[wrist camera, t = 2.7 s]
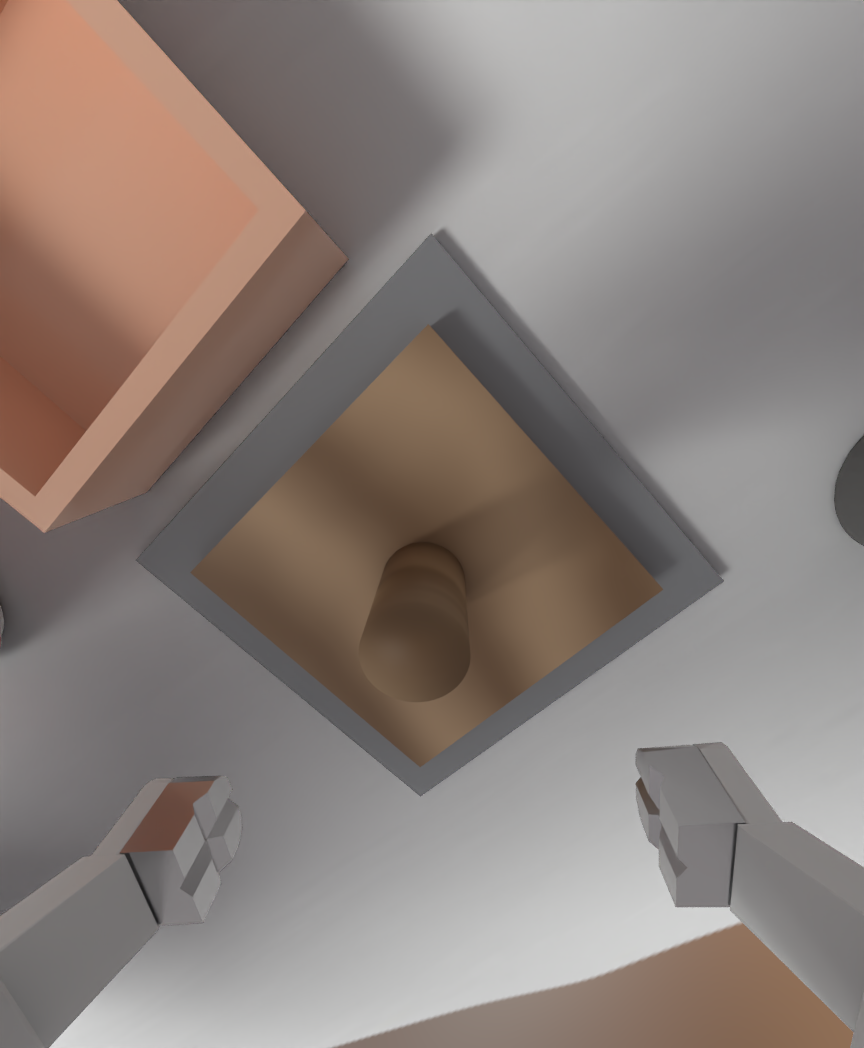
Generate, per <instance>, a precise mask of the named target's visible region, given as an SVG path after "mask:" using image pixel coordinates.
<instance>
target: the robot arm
mask: <svg viewBox="0 0 864 1048" xmlns="http://www.w3.org/2000/svg"><path fill="white" fill-rule="evenodd" d="M636 767H637V769H638V771H639V774H640V776H641V778H640V779H639V780H638V781H637V782H636V800H637V805H638V811H639V815H640V819H641V822H642V825H643V828H644V831H645V833H646V836H647V838H648V841H649V842H650V843H652V844H653V845H654V846H655V847H656V848H657V849H659V868H660V870H661V873H662V875H663V878H664V880H665V882H666V885H667V887H668V890H669V892H670V895H671V897H672V899H673V902H674V904H675V907H730V911H731V912H732V913H733V914H734V915H735V916H736V917H737V918H738V919H740V920H741V921H742V922H743V923H744V924H745V925H746V926H747V927H748V928H749V929H750V930H751V931H752V932H753V933H754V934H755V935H756V936H757V937H758V938H759V939H760V940H761V941H762V942H763V943H764V944H765V945H766V946H767V947H768V948H769V949H770V950H771V951H772V952H773V953H774V954H775V955H776V956H777V957H778V958H779V959H780V960H781V961H782V962H783V963H784V964H785V965H786V966H787V967H788V968H789V969H790V970H791V971H792V972H793V973H794V974H795V975H796V976H797V977H798V978H799V979H800V980H801V981H802V982H803V983H804V984H805V985H806V986H807V987H808V988H810V990H811V991H812V992H814V994H815V995H816V996H817V997H819V998H820V1000H822V1001H823V1002H824V1003H825V1004H826V1005H827V1006H828V1007H829V1008H830V1009H831V1010H832V1011H833V1012H834V1013H835V1014H836V1015H837V1016H838V1017H839V1018H840V1019H841V1020H842V1021H843V1022H844V1023H845V1024H846V1025H847V1026H848V1027H849V1028H850V1029H851V1030H852V1031H853V1032H854V1034H853V1039H852V1043H851V1047H850V1048H864V867H862V866H861V865H859V864H858V863H856V862H854V861H853V860H851V859H850V858H848V857H847V856H845V855H843V854H842V853H840V852H839V851H837V850H836V849H834V848H832V847H831V846H829V845H828V844H826V843H825V842H823V841H821V840H820V839H818V838H817V837H815V836H814V835H812V834H810V833H809V832H807V831H806V830H804V829H802V828H801V827H799V826H798V825H796V824H795V823H793V822H782V821H781V819H780V818H779V817H778V815H777V814H776V812H775V811H774V810H773V808H772V807H771V806H770V804H769V803H768V801H767V800H766V799H765V797H764V796H763V795H762V793H761V792H760V790H759V789H758V788H757V786H756V785H755V784H754V782H753V781H752V779H751V778H750V777H749V775H748V774H747V773H746V771H745V770H744V768H743V767H742V766H741V764H740V763H739V762H738V760H737V759H736V757H735V756H734V755H733V753H732V752H731V751H730V749H729V748H728V747H727V746H726V745H725V744H723V743H722V742H719V743H705V744H693V745H679V746H666V747H652V748H639V749H637V752H636ZM232 790H233V789H232V787H231V784H230V782H229V779H228V777H225V776H201V777H177V778H158V779H153V780H151V781H150V782H148V783H147V784H145V786H144V787H143V788H142V790H141V791H140V792H139V793H138V795H137V796H136V797H135V799H134V800H133V801H132V803H131V804H130V805H129V807H128V808H127V809H126V811H125V812H124V813H123V814H122V816H121V817H120V818H119V820H118V821H117V822H116V824H115V825H114V826H113V828H112V829H111V830H110V831H109V833H108V834H107V835H106V837H105V838H104V839H103V841H102V842H101V843H100V845H99V846H98V847H97V849H96V850H95V851H94V852H93V854H92V855H91V856H83V857H82V858H80V859H79V860H78V861H76V862H75V863H73V864H72V865H71V866H69V867H68V868H66V869H65V870H64V871H62V872H61V873H59V874H58V875H57V876H55V877H54V878H52V879H51V880H50V881H48V882H47V883H46V884H44V885H43V886H41V887H40V888H39V889H37V890H36V891H34V892H33V893H32V894H30V895H29V896H27V897H26V898H25V899H23V900H22V901H20V902H19V903H18V904H16V905H15V906H13V907H12V908H11V909H9V910H8V911H7V912H5V913H4V914H2V915H1V916H0V1048H49V1047H50V1046H51V1045H52V1044H53V1043H54V1041H55V1040H56V1039H57V1038H58V1037H59V1036H60V1035H61V1034H62V1033H63V1032H64V1031H65V1030H66V1029H67V1027H68V1026H69V1025H70V1024H71V1023H72V1022H73V1021H74V1020H75V1019H76V1018H77V1017H78V1016H79V1015H80V1013H81V1012H82V1011H83V1010H84V1009H85V1008H86V1007H87V1006H88V1005H89V1004H90V1003H91V1002H92V1001H93V999H94V998H95V997H96V996H97V995H98V994H99V993H100V992H101V991H102V990H103V989H104V988H105V987H106V986H107V984H108V983H109V982H110V981H111V980H112V979H113V978H114V977H115V976H116V975H117V974H118V973H119V972H120V970H121V969H122V968H123V967H124V966H125V965H126V964H127V963H128V962H129V961H130V960H131V959H132V958H133V956H134V955H135V954H136V953H137V952H138V951H139V950H140V949H141V948H142V947H143V946H144V945H145V944H146V942H147V941H148V940H149V939H150V938H151V937H152V936H153V935H154V934H155V933H156V932H157V931H158V930H159V927H158V926H165V925H180V924H194V923H203V922H204V920H205V918H206V916H207V914H208V912H209V909H210V907H211V905H212V903H213V901H214V899H215V897H216V894H217V892H218V890H219V888H220V886H221V880H220V874H219V872H220V871H221V870H222V869H223V868H225V867H226V866H227V865H228V864H229V863H230V862H231V861H232V860H233V858H234V855H235V853H236V851H237V848H238V846H239V842H240V837H241V832H242V816H241V813H240V810H239V806H237V805H236V804H235V803H234V802H232V801H231V800H230V799H229V796H230V794H231V792H232Z"/></svg>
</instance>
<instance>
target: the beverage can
mask: <svg viewBox="0 0 864 1048" xmlns="http://www.w3.org/2000/svg"><path fill="white" fill-rule="evenodd" d="M3 629H4V616H3V611H2V608H1V605H0V648H1V636H2V633H3Z"/></svg>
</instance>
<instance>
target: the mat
mask: <svg viewBox="0 0 864 1048" xmlns="http://www.w3.org/2000/svg"><path fill="white" fill-rule="evenodd" d="M428 324H429V325H430V326H431V328H432V329H433V330H434V331H435V332H436V333H437V334H438V335H439V337H440V338H441V339H442V340H443V341H444V342H445V343H446V344H447V346H448V347H449V348H450V349H451V350H452V351H453V352H454V353H455V355H456V356H457V357H458V358H459V359H460V360H461V361H462V363H463V364H464V365H465V366H466V367H467V368H468V369H469V370H470V372H471V373H472V374H473V375H474V376H475V377H476V378H477V379H478V381H479V382H480V383H481V384H482V385H483V386H484V387H485V388H486V390H487V391H488V392H489V393H490V394H491V395H492V396H493V398H494V399H495V400H496V401H497V402H498V403H499V404H500V405H501V407H502V408H503V409H504V410H505V411H506V412H507V413H508V414H509V416H510V417H511V418H512V419H513V420H514V421H515V422H516V423H517V425H518V426H519V427H520V428H521V429H522V430H523V431H524V433H525V434H526V435H527V436H528V437H529V438H530V439H531V440H532V442H533V443H534V444H535V445H536V446H537V447H538V448H539V449H540V451H541V452H542V453H543V454H544V455H545V456H546V457H547V458H548V460H549V461H550V462H551V463H552V464H553V465H554V466H555V468H556V469H557V470H558V471H559V472H560V473H561V474H562V475H563V477H564V478H565V479H566V480H567V481H568V482H569V483H570V484H571V486H572V487H573V488H574V489H575V490H576V491H577V492H578V494H579V495H580V496H581V497H582V498H583V499H584V500H585V501H586V503H587V504H588V505H589V506H590V507H591V508H592V509H593V510H594V512H595V513H596V514H597V515H598V516H599V517H600V518H601V519H602V521H603V522H604V523H605V524H606V525H607V526H608V527H609V529H610V530H611V531H612V532H613V533H614V534H615V535H616V536H617V538H618V539H619V540H620V541H621V542H622V543H623V544H624V545H625V547H626V548H627V549H628V550H629V551H630V552H631V553H632V554H633V556H634V557H635V558H636V559H637V560H638V561H639V562H640V564H641V565H642V566H643V567H644V568H645V569H646V570H647V571H648V573H649V574H650V575H651V576H652V577H653V578H654V579H655V580H656V582H657V583H658V584H659V585H660V586H661V587H662V588H663V589H664V590H662V591H661V592H659V593H658V594H657V595H655V596H654V597H653V598H651V599H650V600H649V601H647V602H646V603H644V604H643V605H642V606H640V607H639V608H638V609H636V610H635V611H633V612H632V613H631V614H629V615H628V616H627V617H625V618H624V619H623V620H621V621H620V622H618V623H617V624H616V625H614V626H613V627H612V628H610V629H609V630H607V631H606V632H605V633H603V634H602V635H601V636H599V637H598V638H597V639H595V640H594V641H592V642H591V643H590V644H588V645H587V646H586V647H584V648H583V649H581V650H580V651H579V652H577V653H576V654H575V655H573V656H572V657H571V658H569V659H568V660H566V661H565V662H564V663H562V664H561V665H560V666H558V667H557V668H555V669H554V670H553V671H551V672H550V673H549V674H547V675H546V676H545V677H543V678H542V679H540V680H539V681H538V682H536V683H535V684H534V685H532V686H531V687H529V688H528V689H527V690H525V691H524V692H523V693H521V694H520V695H519V696H517V697H516V698H514V699H513V700H512V701H510V702H509V703H508V704H506V705H505V706H503V707H502V708H501V709H499V710H498V711H497V712H495V713H494V714H493V715H491V716H490V717H488V718H487V719H486V720H484V721H483V722H482V723H480V724H479V725H477V726H476V727H475V728H473V729H472V730H471V731H469V732H468V733H467V734H465V735H464V736H462V737H461V738H460V739H458V740H457V741H456V742H454V743H453V744H451V745H450V746H449V747H447V748H446V749H445V750H443V751H442V752H441V753H439V754H438V755H436V756H435V757H434V758H432V759H431V760H430V761H428V762H427V763H425V764H424V765H423V766H421V767H419V766H418V765H417V764H415V763H414V762H413V761H412V760H411V759H410V758H408V757H407V756H406V755H405V754H404V753H403V752H401V751H400V750H399V749H398V748H397V747H395V746H394V745H393V744H392V743H391V742H390V741H388V740H387V739H386V738H385V737H384V736H382V735H381V734H380V733H379V732H378V731H377V730H375V729H374V728H373V727H372V726H371V725H369V724H368V723H367V722H366V721H365V720H364V719H362V718H361V717H360V716H359V715H358V714H356V713H355V712H354V711H353V710H352V709H351V708H349V707H348V706H347V705H346V704H345V703H343V702H342V701H341V700H340V699H339V698H338V697H336V696H335V695H334V694H333V693H332V692H330V691H329V690H328V689H327V688H326V687H325V686H323V685H322V684H321V683H320V682H319V681H317V680H316V679H315V678H314V677H313V676H312V675H310V674H309V673H308V672H307V671H306V670H305V669H303V668H302V667H301V666H300V665H299V664H297V663H296V662H295V661H294V660H293V659H292V658H290V657H289V656H288V655H287V654H286V653H284V652H283V651H282V650H281V649H280V648H279V647H277V646H276V645H275V644H274V643H273V642H271V641H270V640H269V639H268V638H267V637H266V636H264V635H263V634H262V633H261V632H260V631H258V630H257V629H256V628H255V627H254V626H253V625H251V624H250V623H249V622H248V621H247V620H245V619H244V618H243V617H242V616H241V615H240V614H238V613H237V612H236V611H235V610H234V609H232V608H231V607H230V606H229V605H228V604H227V603H225V602H224V601H223V600H222V599H221V598H220V597H218V596H217V595H216V594H215V593H214V592H212V591H211V590H210V589H209V588H208V587H207V586H205V585H204V584H203V583H202V582H201V581H199V580H198V579H197V578H196V577H195V576H194V575H192V574H191V573H190V572H191V571H192V570H193V569H194V568H195V567H196V566H197V565H198V564H199V563H200V562H201V561H202V560H203V559H204V558H205V556H206V555H207V554H208V553H209V552H210V551H211V550H212V549H213V548H214V547H215V546H216V545H217V544H218V543H219V542H220V541H221V540H222V539H223V538H224V537H225V536H226V535H227V534H228V532H229V531H230V530H231V529H232V528H233V527H234V526H235V525H236V524H237V523H238V522H239V521H240V520H241V519H242V518H243V517H244V516H245V515H246V514H247V513H248V512H249V511H250V510H251V508H252V507H253V506H254V505H255V504H256V503H257V502H258V501H259V500H260V499H261V498H262V497H263V496H264V495H265V494H266V493H267V492H268V491H269V490H270V489H271V488H272V487H273V486H274V484H275V483H276V482H277V481H278V480H279V479H280V478H281V477H282V476H283V475H284V474H285V473H286V472H287V471H288V470H289V469H290V468H291V467H292V466H293V465H294V464H295V463H296V462H297V460H298V459H299V458H300V457H301V456H302V455H303V454H304V453H305V452H306V451H307V450H308V449H309V448H310V447H311V446H312V445H313V444H314V443H315V442H316V441H317V440H318V439H319V438H320V436H321V435H322V434H323V433H324V432H325V431H326V430H327V429H328V428H329V427H330V426H331V425H332V424H333V423H334V422H335V421H336V420H337V419H338V418H339V417H340V416H341V415H342V414H343V412H344V411H345V410H346V409H347V408H348V407H349V406H350V405H351V404H352V403H353V402H354V401H355V400H356V399H357V398H358V397H359V396H360V395H361V394H362V393H363V392H364V391H365V390H366V388H367V387H368V386H369V385H370V384H371V383H372V382H373V381H374V380H375V379H376V378H377V377H378V376H379V375H380V374H381V373H382V372H383V371H384V370H385V369H386V368H387V367H388V366H389V364H390V363H391V362H392V361H393V360H394V359H395V358H396V357H397V356H398V355H399V354H400V353H401V352H402V351H403V350H404V349H405V348H406V347H407V346H408V345H409V344H410V343H411V342H412V340H413V339H414V338H415V337H416V336H417V335H418V334H419V333H420V332H421V331H422V330H423V329H424V328H425V327H426V326H427V325H428ZM136 561H137V562H138V563H140V564H141V565H142V566H143V567H144V568H146V569H147V570H148V571H149V572H150V573H152V574H153V575H154V576H155V577H156V578H158V579H159V580H160V581H161V582H163V583H164V584H165V585H166V586H167V587H169V588H170V589H171V590H172V591H173V592H175V593H176V594H177V595H178V596H179V597H181V598H182V599H183V600H184V601H185V602H187V603H188V604H189V605H190V606H191V607H193V608H194V609H195V610H196V611H198V612H199V613H200V614H201V615H202V616H204V617H205V618H206V619H207V620H208V621H210V622H211V623H212V624H213V625H214V626H216V627H217V628H218V629H219V630H220V631H222V632H223V633H224V634H225V635H226V636H228V637H229V638H230V639H231V640H232V641H234V642H235V643H236V644H237V645H239V646H240V647H241V648H242V649H243V650H245V651H246V652H247V653H248V654H249V655H251V656H252V657H253V658H254V659H255V660H257V661H258V662H259V663H260V664H261V665H263V666H264V667H265V668H266V669H267V670H269V671H270V672H271V673H272V674H273V675H275V676H276V677H277V678H278V679H280V680H281V681H282V682H283V683H284V684H286V685H287V686H288V687H289V688H290V689H292V690H293V691H294V692H295V693H296V694H298V695H299V696H300V697H301V698H302V699H304V700H305V701H306V702H307V703H308V704H310V705H311V706H312V707H313V708H314V709H316V710H317V711H318V712H319V713H321V714H322V715H323V716H324V717H325V718H327V719H328V720H329V721H330V722H331V723H333V724H334V725H335V726H336V727H337V728H339V729H340V730H341V731H342V732H343V733H345V734H346V735H347V736H348V737H349V738H351V739H352V740H353V741H354V742H356V743H357V744H358V745H359V746H360V747H362V748H363V749H364V750H365V751H366V752H368V753H369V754H370V755H371V756H372V757H374V758H375V759H376V760H377V761H378V762H380V763H381V764H382V765H383V766H384V767H386V768H387V769H388V770H389V771H390V772H392V773H393V774H394V775H395V776H397V777H398V778H399V779H400V780H401V781H403V782H404V783H405V784H406V785H407V786H409V787H410V788H411V789H412V790H413V791H415V792H416V793H417V794H418V795H419V796H422V795H423V794H425V793H426V792H427V791H429V790H430V789H432V788H433V787H434V786H436V785H437V784H439V783H440V782H441V781H443V780H444V779H446V778H447V777H449V776H450V775H451V774H453V773H454V772H456V771H457V770H458V769H460V768H461V767H463V766H464V765H465V764H467V763H468V762H470V761H471V760H472V759H474V758H475V757H477V756H478V755H480V754H481V753H482V752H484V751H485V750H487V749H488V748H489V747H491V746H492V745H494V744H495V743H496V742H498V741H499V740H501V739H502V738H503V737H505V736H506V735H508V734H509V733H511V732H512V731H513V730H515V729H516V728H518V727H519V726H520V725H522V724H523V723H525V722H526V721H527V720H529V719H530V718H532V717H533V716H534V715H536V714H537V713H539V712H540V711H542V710H543V709H544V708H546V707H547V706H549V705H550V704H551V703H553V702H554V701H556V700H557V699H558V698H560V697H561V696H563V695H564V694H565V693H567V692H568V691H570V690H571V689H573V688H574V687H575V686H577V685H578V684H580V683H581V682H582V681H584V680H585V679H587V678H588V677H589V676H591V675H592V674H594V673H595V672H596V671H598V670H599V669H601V668H602V667H604V666H605V665H606V664H608V663H609V662H611V661H612V660H613V659H615V658H616V657H618V656H619V655H620V654H622V653H623V652H625V651H626V650H627V649H629V648H630V647H632V646H633V645H635V644H636V643H637V642H639V641H640V640H642V639H643V638H644V637H646V636H647V635H649V634H650V633H651V632H653V631H654V630H656V629H657V628H658V627H660V626H661V625H663V624H664V623H666V622H667V621H668V620H670V619H671V618H673V617H674V616H675V615H677V614H678V613H680V612H681V611H682V610H684V609H685V608H687V607H688V606H689V605H691V604H692V603H694V602H695V601H697V600H698V599H699V598H701V597H702V596H704V595H705V594H706V593H708V592H709V591H711V590H712V589H713V588H715V587H716V586H718V585H719V584H720V583H722V582H723V581H724V580H723V579H722V578H721V577H720V576H719V575H718V573H717V572H716V571H715V570H714V569H713V567H712V566H711V565H710V564H709V563H708V561H707V560H706V559H705V558H704V557H703V556H702V554H701V553H700V552H699V551H698V550H697V548H696V547H695V546H694V545H693V544H692V542H691V541H690V540H689V539H688V538H687V537H686V535H685V534H684V533H683V532H682V531H681V529H680V528H679V527H678V526H677V525H676V523H675V522H674V521H673V520H672V519H671V518H670V516H669V515H668V514H667V513H666V512H665V510H664V509H663V508H662V507H661V506H660V504H659V503H658V502H657V501H656V500H655V498H654V497H653V496H652V495H651V494H650V493H649V491H648V490H647V489H646V488H645V487H644V485H643V484H642V483H641V482H640V481H639V479H638V478H637V477H636V476H635V475H634V474H633V472H632V471H631V470H630V469H629V468H628V466H627V465H626V464H625V463H624V462H623V460H622V459H621V458H620V457H619V456H618V455H617V453H616V452H615V451H614V450H613V449H612V447H611V446H610V445H609V444H608V443H607V441H606V440H605V439H604V438H603V437H602V436H601V434H600V433H599V432H598V431H597V430H596V428H595V427H594V426H593V425H592V424H591V422H590V421H589V420H588V419H587V418H586V416H585V415H584V414H583V413H582V412H581V411H580V409H579V408H578V407H577V406H576V405H575V403H574V402H573V401H572V400H571V399H570V397H569V396H568V395H567V394H566V393H565V392H564V390H563V389H562V388H561V387H560V386H559V384H558V383H557V382H556V381H555V380H554V378H553V377H552V376H551V375H550V374H549V373H548V371H547V370H546V369H545V368H544V367H543V365H542V364H541V363H540V362H539V361H538V359H537V358H536V357H535V356H534V355H533V354H532V352H531V351H530V350H529V349H528V348H527V346H526V345H525V344H524V343H523V342H522V340H521V339H520V338H519V337H518V336H517V335H516V333H515V332H514V331H513V330H512V329H511V327H510V326H509V325H508V324H507V323H506V321H505V320H504V319H503V318H502V317H501V315H500V314H499V313H498V312H497V311H496V310H495V308H494V307H493V306H492V305H491V304H490V302H489V301H488V300H487V299H486V298H485V296H484V295H483V294H482V293H481V292H480V291H479V289H478V288H477V287H476V286H475V285H474V283H473V282H472V281H471V280H470V279H469V277H468V276H467V275H466V274H465V273H464V272H463V270H462V269H461V268H460V267H459V266H458V264H457V263H456V262H455V261H454V260H453V258H452V257H451V256H450V255H449V254H448V253H447V251H446V250H445V249H444V248H443V247H442V245H441V244H440V243H439V242H438V241H437V239H436V238H435V237H434V236H433V235H432V234H430V235H429V237H428V238H427V239H426V240H425V241H424V242H423V243H422V244H421V245H420V247H419V248H418V249H417V250H416V251H415V252H414V253H413V254H412V255H411V256H410V258H409V259H408V260H407V261H406V262H405V263H404V264H403V265H402V266H401V268H400V269H399V270H398V271H397V272H396V273H395V274H394V275H393V276H392V277H391V279H390V280H389V281H388V282H387V283H386V284H385V285H384V286H383V287H382V289H381V290H380V291H379V292H378V293H377V294H376V295H375V296H374V297H373V298H372V300H371V301H370V302H369V303H368V304H367V305H366V306H365V307H364V308H363V310H362V311H361V312H360V313H359V314H358V315H357V316H356V317H355V318H354V320H353V321H352V322H351V323H350V324H349V325H348V326H347V327H346V328H345V329H344V331H343V332H342V333H341V334H340V335H339V336H338V337H337V338H336V339H335V341H334V342H333V343H332V344H331V345H330V346H329V347H328V348H327V349H326V350H325V352H324V353H323V354H322V355H321V356H320V357H319V358H318V359H317V360H316V362H315V363H314V364H313V365H312V366H311V367H310V368H309V369H308V370H307V371H306V373H305V374H304V375H303V376H302V377H301V378H300V379H299V380H298V381H297V383H296V384H295V385H294V386H293V387H292V388H291V389H290V390H289V391H288V392H287V394H286V395H285V396H284V397H283V398H282V399H281V400H280V401H279V402H278V404H277V405H276V406H275V407H274V408H273V409H272V410H271V411H270V412H269V414H268V415H267V416H266V417H265V418H264V419H263V420H262V421H261V422H260V423H259V425H258V426H257V427H256V428H255V429H254V430H253V431H252V432H251V433H250V435H249V436H248V437H247V438H246V439H245V440H244V441H243V442H242V443H241V444H240V446H239V447H238V448H237V449H236V450H235V451H234V452H233V453H232V454H231V456H230V457H229V458H228V459H227V460H226V461H225V462H224V463H223V464H222V465H221V467H220V468H219V469H218V470H217V471H216V472H215V473H214V474H213V475H212V477H211V478H210V479H209V480H208V481H207V482H206V483H205V484H204V485H203V486H202V488H201V489H200V490H199V491H198V492H197V493H196V494H195V495H194V496H193V498H192V499H191V500H190V501H189V502H188V503H187V504H186V505H185V506H184V508H183V509H182V510H181V511H180V512H179V513H178V514H177V515H176V516H175V517H174V519H173V520H172V521H171V522H170V523H169V524H168V525H167V526H166V527H165V529H164V530H163V531H162V532H161V533H160V534H159V535H158V536H157V537H156V538H155V540H154V541H153V542H152V543H151V544H150V545H149V546H148V547H147V548H146V550H145V551H144V552H143V553H142V554H141V555H140V556H139V557H138V558H137V559H136Z"/></svg>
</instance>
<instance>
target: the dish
mask: <svg viewBox="0 0 864 1048" xmlns="http://www.w3.org/2000/svg"><path fill="white" fill-rule="evenodd" d="M347 261H348V258H347V256H346V255H345V254H344V253H343V252H342V251H341V250H340V249H339V247H338V246H337V245H336V244H335V243H334V242H333V241H332V240H331V238H330V237H329V236H328V235H327V234H326V233H325V232H324V231H323V229H322V228H321V227H320V226H319V225H318V224H317V223H316V221H315V220H314V219H313V218H312V217H311V216H310V215H309V214H308V212H307V211H306V210H305V209H304V208H303V207H302V206H301V205H300V204H299V202H298V201H297V200H296V199H295V198H294V197H293V196H292V195H291V193H290V192H289V191H288V190H287V189H286V188H285V187H284V186H283V185H282V183H281V182H280V181H279V180H278V179H277V178H276V177H275V176H274V175H273V173H272V172H271V171H270V170H269V169H268V168H267V167H266V166H265V164H264V163H263V162H262V161H261V160H260V159H259V158H258V157H257V156H256V154H255V153H254V152H253V151H252V150H251V149H250V148H249V147H248V146H247V144H246V143H245V142H244V141H243V140H242V139H241V138H240V137H239V136H238V134H237V133H236V132H235V131H234V130H233V129H232V128H231V127H230V125H229V124H228V123H227V122H226V121H225V120H224V119H223V118H222V117H221V115H220V114H219V113H218V112H217V111H216V110H215V109H214V108H213V107H212V105H211V104H210V103H209V102H208V101H207V100H206V99H205V98H204V96H203V95H202V94H201V93H200V92H199V91H198V90H197V89H196V88H195V86H194V85H193V84H192V83H191V82H190V81H189V80H188V79H187V78H186V76H185V75H184V74H183V73H182V72H181V71H180V70H179V69H178V68H177V66H176V65H175V64H174V63H173V62H172V61H171V60H170V59H169V57H168V56H167V55H166V54H165V53H164V52H163V51H162V50H161V49H160V47H159V46H158V45H157V44H156V43H155V42H154V41H153V40H152V39H151V37H150V36H149V35H148V34H147V33H146V32H145V31H144V30H143V28H142V27H141V26H140V25H139V24H138V23H137V22H136V21H135V20H134V18H133V17H132V16H131V15H130V14H129V13H128V12H127V11H126V10H125V8H124V7H123V6H122V5H121V4H120V3H119V2H118V1H117V0H0V498H1V499H3V500H4V501H5V502H6V503H8V504H9V505H10V506H11V507H13V508H14V509H15V510H16V511H18V512H19V513H20V514H21V515H23V516H24V517H25V518H26V519H28V520H29V521H30V522H31V523H33V524H34V525H35V526H36V527H37V528H39V529H40V530H41V531H42V532H44V533H45V532H48V531H51V530H53V529H56V528H58V527H61V526H63V525H66V524H68V523H71V522H73V521H76V520H78V519H81V518H83V517H86V516H88V515H91V514H93V513H96V512H98V511H101V510H104V509H106V508H109V507H111V506H114V505H116V504H119V503H121V502H124V501H126V500H129V499H131V498H134V497H136V496H139V495H141V494H144V493H146V492H148V491H149V489H150V488H151V487H152V486H153V485H154V484H155V482H156V481H157V480H158V479H159V478H160V477H161V476H162V474H163V473H164V472H165V471H166V470H167V469H168V467H169V466H170V465H171V464H172V463H173V462H174V460H175V459H176V458H177V457H178V456H179V455H180V454H181V452H182V451H183V450H184V449H185V448H186V447H187V445H188V444H189V443H190V442H191V441H192V440H193V439H194V437H195V436H196V435H197V434H198V433H199V432H200V430H201V429H202V428H203V427H204V426H205V425H206V424H207V422H208V421H209V420H210V419H211V418H212V417H213V415H214V414H215V413H216V412H217V411H218V410H219V408H220V407H221V406H222V405H223V404H224V403H225V402H226V400H227V399H228V398H229V397H230V396H231V395H232V393H233V392H234V391H235V390H236V389H237V388H238V387H239V385H240V384H241V383H242V382H243V381H244V380H245V378H246V377H247V376H248V375H249V374H250V373H251V371H252V370H253V369H254V368H255V367H256V366H257V365H258V363H259V362H260V361H261V360H262V359H263V358H264V356H265V355H266V354H267V353H268V352H269V351H270V350H271V348H272V347H273V346H274V345H275V344H276V343H277V341H278V340H279V339H280V338H281V337H282V336H283V335H284V333H285V332H286V331H287V330H288V329H289V328H290V326H291V325H292V324H293V323H294V322H295V321H296V319H297V318H298V317H299V316H300V315H301V314H302V313H303V311H304V310H305V309H306V308H307V307H308V306H309V304H310V303H311V302H312V301H313V300H314V299H315V298H316V296H317V295H318V294H319V293H320V292H321V291H322V289H323V288H324V287H325V286H326V285H327V284H328V283H329V281H330V280H331V279H332V278H333V277H334V276H335V274H336V273H337V272H338V271H339V270H340V269H341V267H342V266H343V265H344V264H345V263H346V262H347Z"/></svg>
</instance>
